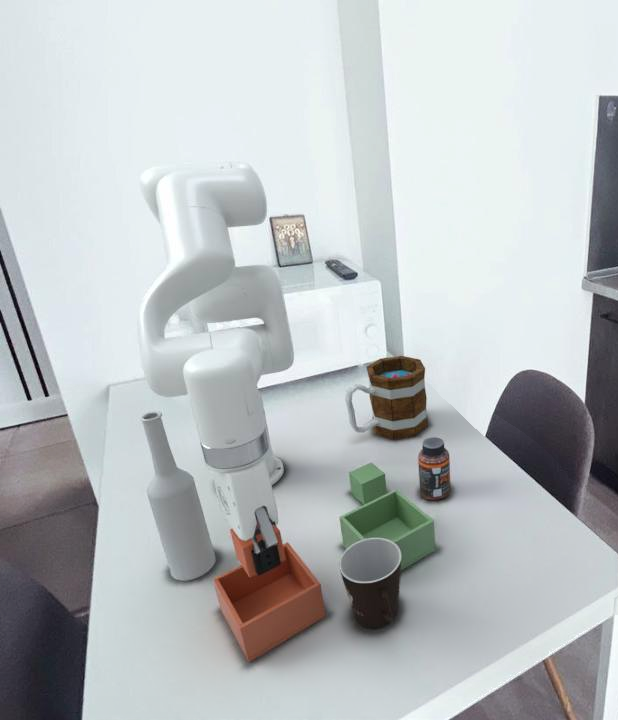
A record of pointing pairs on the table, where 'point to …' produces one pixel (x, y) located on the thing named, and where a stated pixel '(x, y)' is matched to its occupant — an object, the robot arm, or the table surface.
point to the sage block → (367, 483)
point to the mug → (393, 398)
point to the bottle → (176, 508)
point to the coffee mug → (372, 581)
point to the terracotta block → (246, 547)
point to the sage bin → (391, 526)
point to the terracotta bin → (269, 603)
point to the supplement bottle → (434, 469)
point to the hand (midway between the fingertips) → (260, 556)
